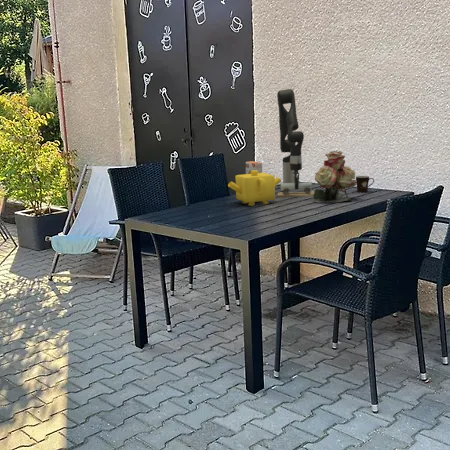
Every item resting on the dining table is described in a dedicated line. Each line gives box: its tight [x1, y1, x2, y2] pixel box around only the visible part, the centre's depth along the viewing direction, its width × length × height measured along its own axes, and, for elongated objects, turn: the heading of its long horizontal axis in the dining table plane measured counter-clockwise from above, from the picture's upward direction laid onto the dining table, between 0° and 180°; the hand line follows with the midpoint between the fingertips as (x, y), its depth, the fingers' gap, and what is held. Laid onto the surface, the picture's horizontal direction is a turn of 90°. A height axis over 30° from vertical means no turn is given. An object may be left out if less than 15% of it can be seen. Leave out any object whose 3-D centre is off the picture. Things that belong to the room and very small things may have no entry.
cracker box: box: [245, 160, 263, 174], centre depth 399 cm, size 14×6×21 cm, turn 25°
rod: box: [280, 181, 313, 191], centre depth 383 cm, size 20×4×4 cm, turn 89°
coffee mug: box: [355, 175, 375, 194], centre depth 384 cm, size 12×9×10 cm
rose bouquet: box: [313, 150, 357, 204], centre depth 360 cm, size 26×29×30 cm
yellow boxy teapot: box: [227, 170, 282, 206], centre depth 361 cm, size 35×29×20 cm
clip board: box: [277, 187, 315, 198], centre depth 383 cm, size 11×24×5 cm, turn 89°
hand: (296, 188), depth 383 cm, fingers closed on rod, 4 cm apart
